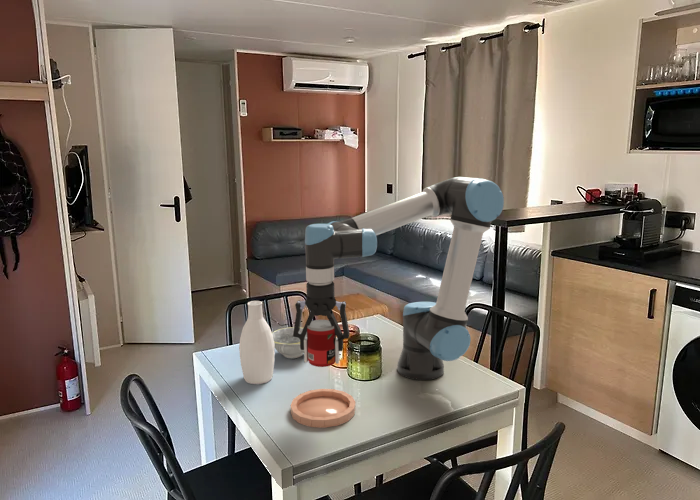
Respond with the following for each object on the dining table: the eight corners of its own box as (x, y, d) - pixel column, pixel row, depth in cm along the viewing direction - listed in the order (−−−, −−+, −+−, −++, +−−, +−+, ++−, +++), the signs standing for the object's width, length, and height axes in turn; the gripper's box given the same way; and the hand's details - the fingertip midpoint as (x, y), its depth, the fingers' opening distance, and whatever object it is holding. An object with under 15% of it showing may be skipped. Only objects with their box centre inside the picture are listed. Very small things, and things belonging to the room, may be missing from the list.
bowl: (296, 367, 180) (296, 346, 179) (260, 357, 189) (259, 337, 187) (323, 351, 194) (323, 331, 192) (289, 343, 202) (288, 324, 200)
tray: (357, 396, 159) (357, 390, 159) (351, 428, 142) (351, 421, 141) (298, 394, 161) (298, 387, 161) (285, 425, 144) (284, 418, 143)
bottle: (267, 368, 180) (264, 295, 175) (281, 380, 171) (278, 304, 166) (235, 376, 174) (231, 301, 169) (248, 389, 165) (244, 310, 160)
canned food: (332, 368, 144) (332, 329, 142) (304, 366, 146) (303, 327, 143) (339, 357, 151) (338, 320, 149) (311, 355, 153) (310, 318, 151)
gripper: (360, 278, 146) (360, 356, 151) (285, 277, 149) (288, 354, 153) (357, 286, 139) (358, 367, 144) (279, 284, 141) (282, 365, 146)
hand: (322, 360), depth 148 cm, fingers closed on canned food, 8 cm apart
